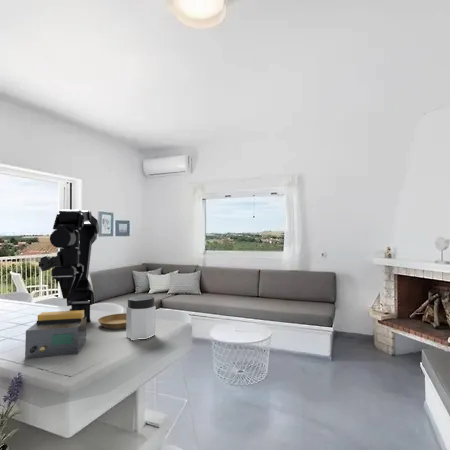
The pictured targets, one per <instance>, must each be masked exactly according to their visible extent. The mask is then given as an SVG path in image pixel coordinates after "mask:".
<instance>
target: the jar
mask: <svg viewBox="0 0 450 450" xmlns="http://www.w3.org/2000/svg"><path fill="white" fill-rule="evenodd" d="M156 309H157V307H156V305H155V296H153V295H137V296H131V297H128V298H127V306H126V312H125V313H126V328H125V331H126V333H125V334H126V335H125V336H127V337H128V338H127V337H126V338H127V339H129V338H130V339H138V338H147V337H149V336H151V335H153V334H155V335H156V321H157V320H156V312H157V311H156ZM130 339H129V340H130Z"/></svg>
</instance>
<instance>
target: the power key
mask: <svg viewBox="0 0 450 450" xmlns="http://www.w3.org/2000/svg"><path fill="white" fill-rule="evenodd" d="M76 318H81V320H82V319H83V318H84V310H78V311H69V310H65V311H64V310H63V311H45V312H44V311H43V312H40V313H39V314H38V315H37V321H42V320H59V319H76Z"/></svg>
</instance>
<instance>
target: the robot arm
mask: <svg viewBox="0 0 450 450" xmlns="http://www.w3.org/2000/svg"><path fill="white" fill-rule="evenodd" d="M87 221H88V222H87ZM52 226H53V227H52V230H53V231H52V232H51V234H50V236H49V242H50V244H51V245H52V246H53V247H55V248H57V249H59V251H57V252H56V256H54V257H53V256H52V257H49V256H48V255H47V256H42V257H40V258H39V259H40V260H39V261H38V265H37V266H38V267H39V268H40V270H41V272H46V271H50V270H51V275H50V277H52V278H53V280H56V281H57V283H58V284H59V288H60V291H61V295H62V299H63V300H64V299H66V306H67V307H70V309H69V310H68V311H78V310H84V314H85V317H86V323H91V321H92V320H91V306H92V305H95V303H96V302H95V301H96V300H95V299H96V298H95V292H94V290H93V287H92V284H91V282H90V281H89V272H90V261H91V253H92V245H93V244H94V242H96V240H97V238H98V235H99V234H100V226H99V221H98V219H97V218H95V216H93V215H92V211H91V210H88V209H87V210H84V209H83V210H80V209H59V211H58V213H56V215H55V220H54V223H53V225H52Z"/></svg>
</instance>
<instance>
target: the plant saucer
mask: <svg viewBox="0 0 450 450" xmlns="http://www.w3.org/2000/svg"><path fill="white" fill-rule="evenodd" d="M97 322H98V323H99V325H101V326H102V327H104V328H105V329H109V330H118V329H119V330H121V329H126V312H124V313H122V312H121V313H114V314H108V315H107V314H106V315H104V316H102V317H100V318H98V319H97Z"/></svg>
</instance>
